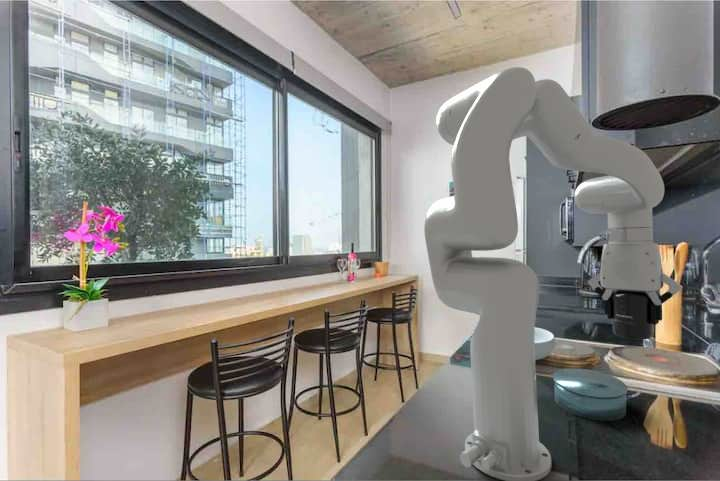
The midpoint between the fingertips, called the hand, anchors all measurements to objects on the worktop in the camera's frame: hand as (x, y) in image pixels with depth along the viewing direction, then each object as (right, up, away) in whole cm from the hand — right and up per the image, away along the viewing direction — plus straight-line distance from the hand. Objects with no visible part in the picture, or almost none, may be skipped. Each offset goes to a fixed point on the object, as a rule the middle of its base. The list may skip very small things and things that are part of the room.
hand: (632, 319), depth 74 cm
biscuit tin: (-12, -16, -4) cm, 21 cm away
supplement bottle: (0, -4, 0) cm, 4 cm away
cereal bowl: (-13, -16, +24) cm, 32 cm away
